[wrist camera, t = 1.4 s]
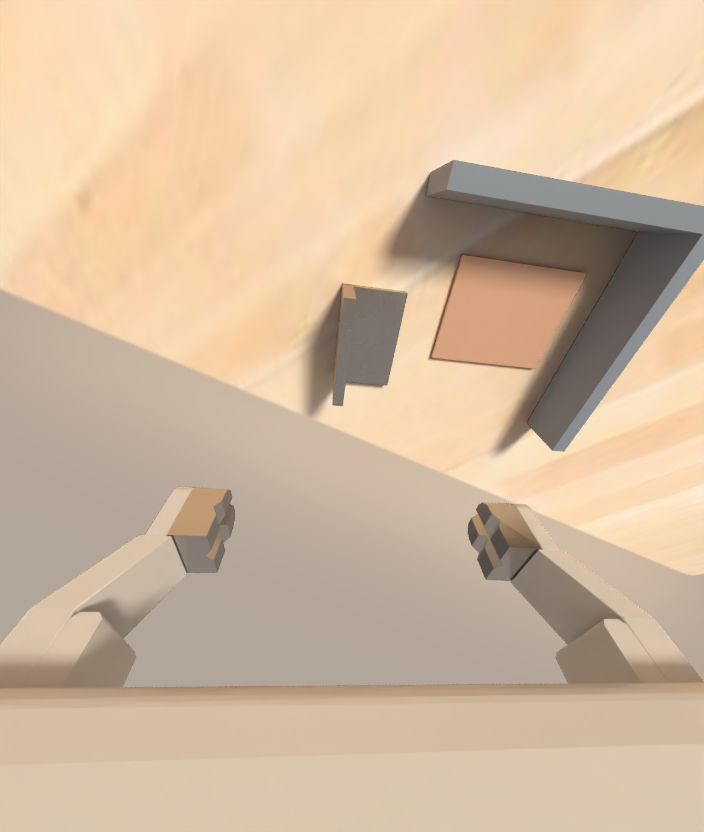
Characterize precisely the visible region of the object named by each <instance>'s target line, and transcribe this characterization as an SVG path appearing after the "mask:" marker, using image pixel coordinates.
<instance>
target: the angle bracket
mask: <svg viewBox="0 0 704 832" xmlns="http://www.w3.org/2000/svg"><path fill="white" fill-rule="evenodd" d="M407 294H408V293H407V292H404V291H396V290H389V289H381V288H373V287H366V286H358V285H351V284H343V285H342V295H341V305H340V315H339V325H338V335H337V345H336V355H335V365H334V375H333V405H336V406H343V399H344V392H345V384H346V382H356V383H367V384H377V385H387V384H388V380H389V375H390V371H391V366H392V362H393V357H394V353H395V348H396V344H397V339H398V335H399V330H400V326H401V321H402V317H403V312H404V308H405V303H406V299H407Z"/></svg>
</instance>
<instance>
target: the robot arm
mask: <svg viewBox="0 0 704 832" xmlns="http://www.w3.org/2000/svg"><path fill="white" fill-rule="evenodd" d="M231 499H232V494H231V491H230V490H224V489H210V488H197V487H180V486H178V487H177V488H176V489H174V490H173V491H172V493H171V494H170V496H169V497H168V499H167V501H166V502H165V504H164V505H163V507H162V508H161V510H160V512H159V513H158V515H157V516H156V518H155V519H154V521H153V523H152V524H151V526H150V527H149V529H148V530H147V532H146V534H145V535H138V536H137V537H135V538H134V539H132V540H131V541H129V542H128V543H126V544H125V545H123V546H122V547H120V548H119V549H117V550H116V551H114V552H113V553H111V554H110V555H109V556H107V557H106V558H104V559H103V560H101V561H100V562H98V563H97V564H95V565H94V566H92V567H91V568H89V569H88V570H86V571H85V572H84V573H82V574H80V575H79V576H77V577H76V578H74V579H73V580H72V581H70V582H69V583H67V584H66V585H64V586H63V587H61V588H60V589H58V590H57V591H55V592H54V593H52V594H51V595H49V596H48V597H46V598H45V599H43V600H42V601H41V602H39V603H38V604H36V605H35V606H33V607H32V608H30V609H29V610H28V612H27V613H26V614H25V615H24V616H23V618H22V619H21V620H20V621H19V623H18V624H17V625H16V626H15V628H14V629H13V630H12V631H11V633H10V634H9V635H8V636H7V637H6V639H5V640H4V641H3V642H2V643H1V645H0V832H704V681H703V680H702V679H701V677H700V676H699V675H698V673H697V672H696V671H695V670H694V668H693V667H692V666H691V665H690V663H689V662H688V661H687V660H686V658H685V657H684V656H683V655H682V653H681V652H680V651H679V650H678V648H677V647H676V646H675V644H674V643H673V642H672V641H671V639H670V638H669V637H668V636H667V634H666V633H665V632H664V630H663V629H662V628H661V627H660V625H659V624H658V623H657V622H656V620H655V619H654V618H653V617H651V616H650V615H649V614H647V613H646V612H645V611H643V610H642V609H641V608H639V607H638V606H637V605H635V604H634V603H633V602H631V601H630V600H629V599H627V598H626V597H625V596H623V595H622V594H621V593H619V592H618V591H617V590H615V589H614V588H613V587H611V586H610V585H609V584H607V583H606V582H605V581H603V580H602V579H601V578H599V577H598V576H597V575H596V574H594V573H593V572H591V571H590V570H589V569H587V568H586V567H584V565H582V564H581V563H580V562H578V561H577V560H575V559H574V558H573V557H571V556H570V555H569V554H568V553H566V552H565V551H562V550H558V548H557V546H556V545H555V543H554V542H553V540H552V539H551V537H550V536H549V535H548V533H547V532H546V530H545V529H544V527H543V526H542V524H541V523H540V521H539V520H538V518H537V517H536V515H535V514H534V512H533V511H532V509H531V508H530V507H529V506H527V505H524V504H509V503H485V502H484V503H481V504H479V505H478V507H477V509H476V510H477V513H478V514H477V515H475V516H474V517H472V518H471V520H470V522H469V524H468V535H469V540H470V542H471V545H472V546H473V547H474V548H475V549H476V550H477V551H478V552H479V555H478V559H477V560H478V562H479V564H480V566H481V569H482V572H483V574H484V577H485V579H486V580H504V581H511V583H512V584H513V585H514V586H515V588H516V589H517V590H518V591H519V592H520V593H521V594H522V595H523V596H524V597H525V599H527V601H528V602H529V603H530V604H531V605H532V606H533V607H534V608H535V609H536V610H537V612H538V613H539V614H540V615H541V616H542V617H543V618H544V619H545V620H546V622H548V624H549V625H550V626H551V627H552V628H553V629H554V630H555V631H556V633H557V634H558V635H559V636H560V637H561V638H562V639H563V640H564V641H565V642H566V644H567V646H565V647H564V648H562V649H561V650H559V651H558V652H557V654H556V657H555V658H556V660H557V662H558V664H559V666H560V668H561V670H562V672H563V674H564V676H565V678H566V680H567V682H568V684H465V685H464V684H463V685H462V684H456V685H455V684H452V685H343V686H342V685H341V686H340V685H338V686H229V687H228V686H223V687H222V686H219V687H123V685H124V683H125V681H126V679H127V676H128V674H129V672H130V670H131V668H132V665H133V663H134V661H135V659H136V655H135V652H134V651H133V649H132V648H131V647H130V646H129V645H128V644H127V643H126V641H125V640H124V639H123V638H124V637H125V636H126V635H127V634H128V633H129V632H130V631H131V630H132V629H133V628H134V627H135V626H136V625H137V624H138V623H139V622H140V621H141V620H142V619H143V618H144V617H145V616H146V615H147V614H148V613H149V612H150V611H151V610H152V609H153V608H154V607H155V606H156V605H157V604H158V603H159V602H160V601H161V600H162V599H163V598H164V597H165V596H166V595H167V594H168V593H169V592H170V591H171V590H172V589H173V588H174V587H175V586H176V585H177V584H178V583H179V582H180V581H181V580H182V579H183V578H184V577H185V576H186V575H187V574H186V573H191V572H193V573H194V572H195V573H201V572H203V573H204V572H206V573H207V572H208V573H210V572H212V573H214V572H215V573H216V572H217V571H218V569H219V566H220V563H221V560H222V558H223V555H224V552H225V548H224V544H223V542H225V541H226V540H227V539H228V538H229V537H230V535H231V532H232V529H233V525H234V520H235V510H234V506H233V505H231V504H230V502H231Z"/></svg>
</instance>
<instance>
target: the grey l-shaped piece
mask: <svg viewBox="0 0 704 832" xmlns="http://www.w3.org/2000/svg"><path fill="white" fill-rule="evenodd" d="M426 196H431V197H437V198H443V199H449V200H454V201H460V202H466V203H472V204H478V205H484V206H490V207H496V208H502V209H508V210H513V211H519V212H525V213H531V214H537V215H543V216H549V217H555V218H561V219H567V220H573V221H578V222H584V223H590V224H596V225H602V226H608V227H614V228H620V229H626V230H632V231H638V233H637V235H636V237H635V239H634V240H633V242H632V244H631V245H630V247H629V249H628V251H627V252H626V254H625V256H624V257H623V259H622V261H621V263H620V264H619V266H618V268H617V269H616V271H615V273H614V274H613V276H612V278H611V280H610V281H609V283H608V285H607V286H606V288H605V290H604V292H603V293H602V295H601V297H600V298H599V300H598V302H597V304H596V305H595V307H594V309H593V310H592V312H591V314H590V316H589V317H588V319H587V321H586V322H585V324H584V326H583V327H582V329H581V331H580V333H579V334H578V336H577V338H576V339H575V341H574V343H573V345H572V346H571V348H570V350H569V351H568V353H567V355H566V357H565V358H564V360H563V362H562V363H561V365H560V367H559V368H558V370H557V372H556V374H555V375H554V377H553V379H552V380H551V382H550V384H549V386H548V387H547V389H546V391H545V392H544V394H543V396H542V398H541V399H540V401H539V403H538V404H537V406H536V408H535V410H534V411H533V413H532V415H531V416H530V418H529V420H528V421H527V424H528V425H529V426H530V427H531V428H532V429H533V430H534V431H535V433H536V434H537V435H538V436H539V437H540V438H541V439H542V440H543V441H544V442H545V443H546V444H547V445H548V446H549V448H550V449H551V450H552V451H565V450H566V448H567V447H568V445H569V444H570V443H571V441H572V440H573V439H574V437H575V436H576V434H577V433H578V432H579V430H580V429H581V428H582V426H583V425H584V423H585V422H586V421H587V419H588V418H589V417H590V415H591V414H592V412H593V411H594V410H595V408H596V407H597V406H598V404H599V403H600V401H601V400H602V399H603V397H604V396H605V395H606V393H607V392H608V390H609V389H610V388H611V386H612V385H613V384H614V382H615V381H616V379H617V378H618V377H619V375H620V374H621V373H622V371H623V370H624V368H625V367H626V366H627V364H628V363H629V362H630V360H631V359H632V357H633V356H634V355H635V353H636V352H637V351H638V349H639V348H640V346H641V345H642V344H643V342H644V341H645V340H646V338H647V337H648V335H649V334H650V333H651V331H652V330H653V329H654V327H655V326H656V324H657V323H658V322H659V320H660V319H661V318H662V316H663V315H664V314H665V312H666V311H667V309H668V308H669V307H670V305H671V304H672V303H673V301H674V300H675V298H676V297H677V296H678V294H679V293H680V292H681V290H682V289H683V287H684V286H685V285H686V283H687V282H688V281H689V279H690V278H691V276H692V275H693V274H694V272H695V271H696V270H697V268H698V267H699V265H700V264H701V263H702V261H703V260H704V206H700V205H694V204H689V203H684V202H678V201H673V200H667V199H662V198H657V197H651V196H646V195H640V194H635V193H630V192H624V191H619V190H613V189H608V188H603V187H597V186H592V185H586V184H581V183H576V182H570V181H565V180H559V179H554V178H549V177H543V176H538V175H532V174H527V173H521V172H516V171H511V170H505V169H500V168H494V167H489V166H484V165H478V164H473V163H467V162H462V161H457V160H453V161H451V162H449V163H447V164H445V165H443V166H441V167H440V168H438V169H436V170H434V171H432V172H431V173H430V178H429V183H428V187H427V192H426Z"/></svg>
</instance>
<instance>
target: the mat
mask: <svg viewBox="0 0 704 832" xmlns="http://www.w3.org/2000/svg"><path fill="white" fill-rule="evenodd" d="M586 275H587V273H582V272H575V271H568V270H562V269H555V268H548V267H541V266H535V265H528V264H521V263H515V262H508V261H501V260H494V259H488V258H481V257H474V256H467V255H461V258H460V262H459V265H458V268H457V272H456V275H455V278H454V282H453V285H452V288H451V292H450V295H449V298H448V302H447V305H446V308H445V311H444V315H443V318H442V321H441V325H440V328H439V331H438V335H437V338H436V341H435V345H434V348H433V351H432V355H431V357H432V358H440V359H449V360H459V361H468V362H477V363H487V364H496V365H505V366H515V367H524V368H533V369H536V368H537V366H538V364H539V362H540V360H541V358H542V357H543V355H544V353H545V351H546V349H547V347H548V345H549V344H550V342H551V340H552V338H553V336H554V334H555V332H556V331H557V329H558V327H559V325H560V323H561V321H562V319H563V317H564V316H565V314H566V312H567V310H568V308H569V306H570V304H571V303H572V301H573V299H574V297H575V295H576V293H577V291H578V290H579V288H580V286H581V284H582V282H583V280H584V278H585V276H586Z"/></svg>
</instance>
